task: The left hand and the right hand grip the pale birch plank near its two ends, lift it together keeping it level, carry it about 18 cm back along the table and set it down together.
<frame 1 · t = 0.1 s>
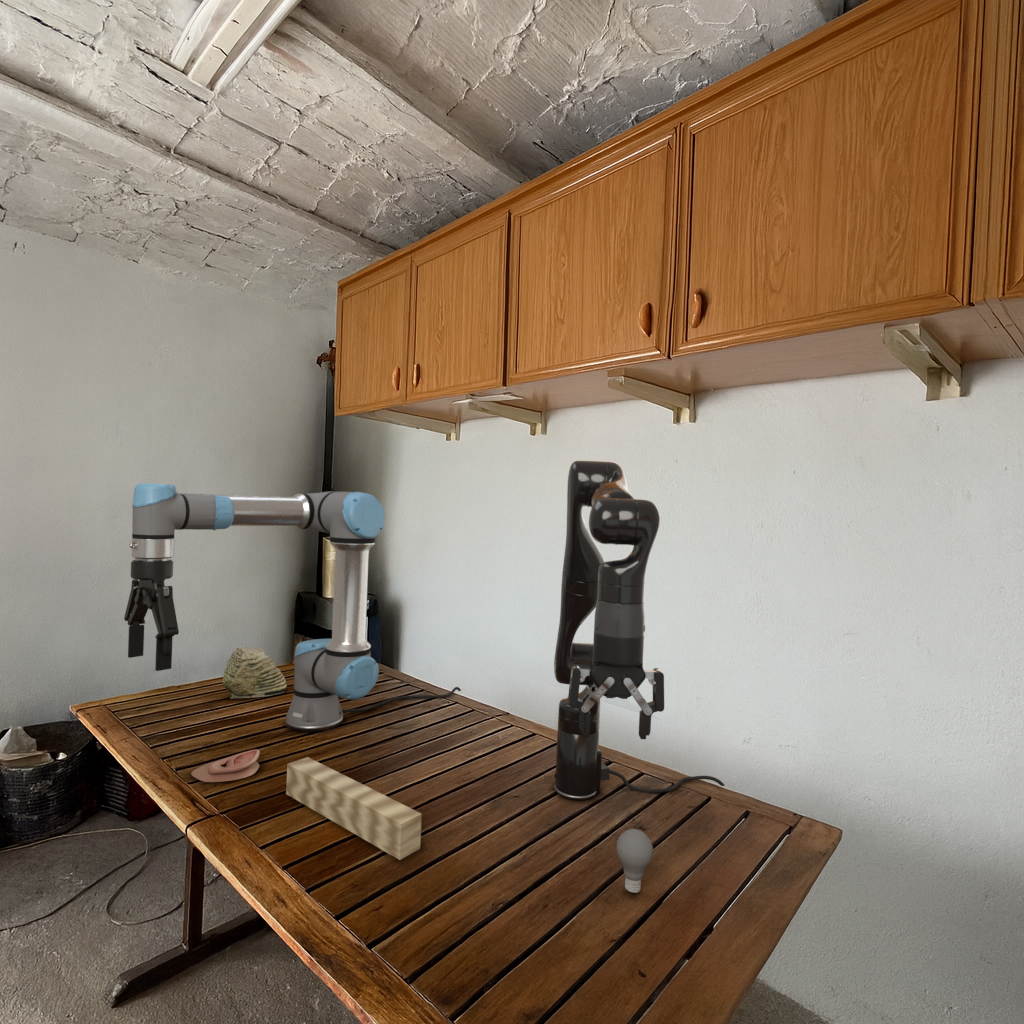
left hand: (149, 662, 129), 28 cm above the table, fingers open, 13 cm apart
right hand: (614, 736, 96), 29 cm above the table, fingers open, 8 cm apart
anatomical model: (225, 772, 143), on the table
light bulb: (632, 891, 106), on the table
fossil: (254, 694, 198), on the table
birch plank: (348, 819, 125), on the table
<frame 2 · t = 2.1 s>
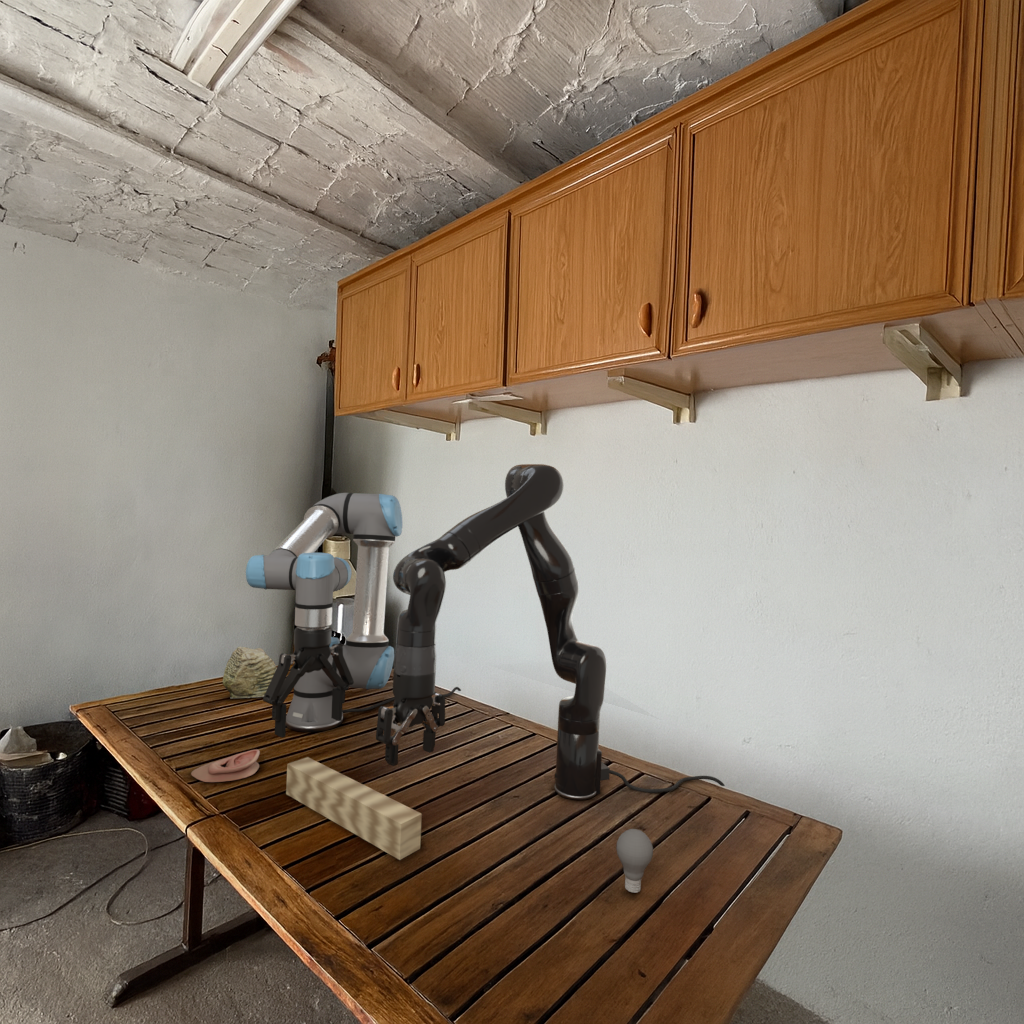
left hand: (309, 727, 133), 15 cm above the table, fingers open, 13 cm apart
right hand: (410, 757, 114), 17 cm above the table, fingers open, 8 cm apart
nothing on the table moved.
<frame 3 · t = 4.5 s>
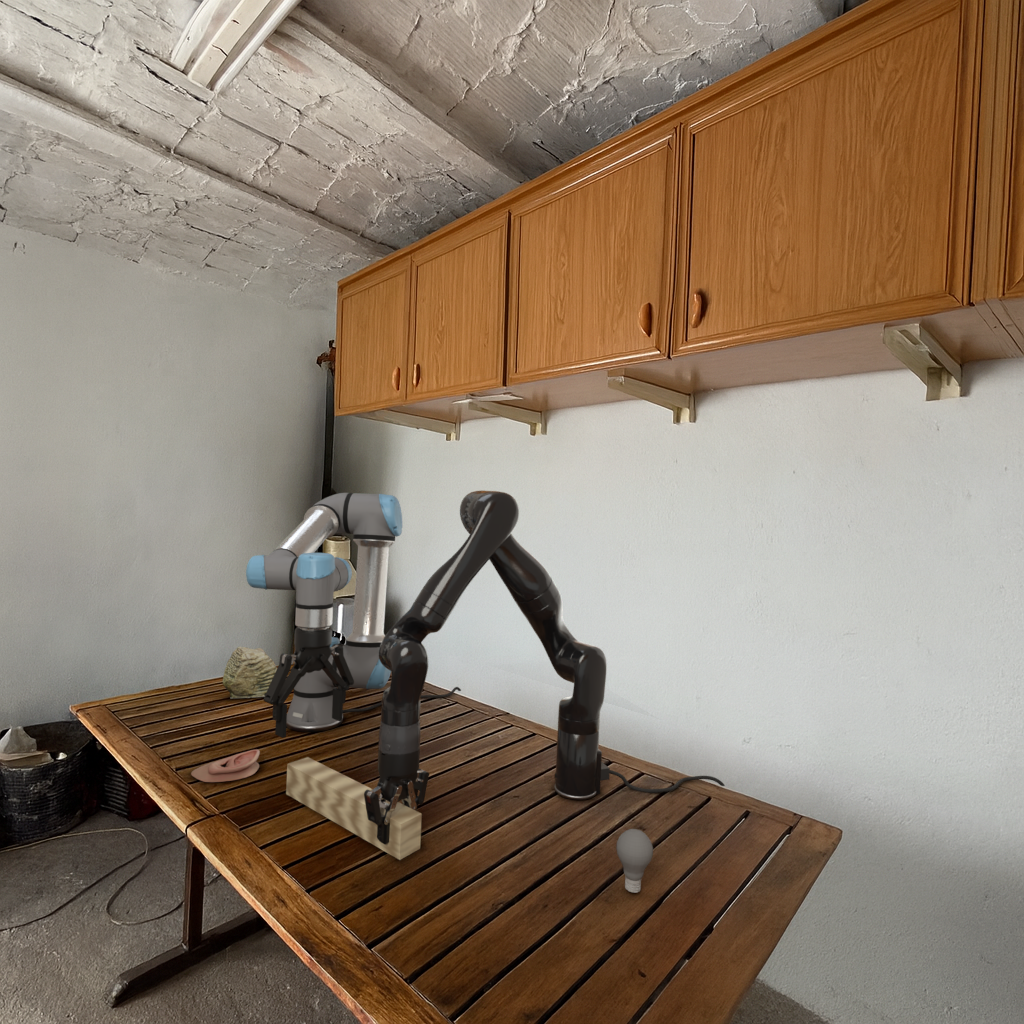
left hand: (309, 727, 133), 15 cm above the table, fingers open, 13 cm apart
right hand: (395, 835, 116), 2 cm above the table, fingers closed on birch plank, 5 cm apart
birch plank: (348, 819, 125), on the table, touching right hand
everything else where it was.
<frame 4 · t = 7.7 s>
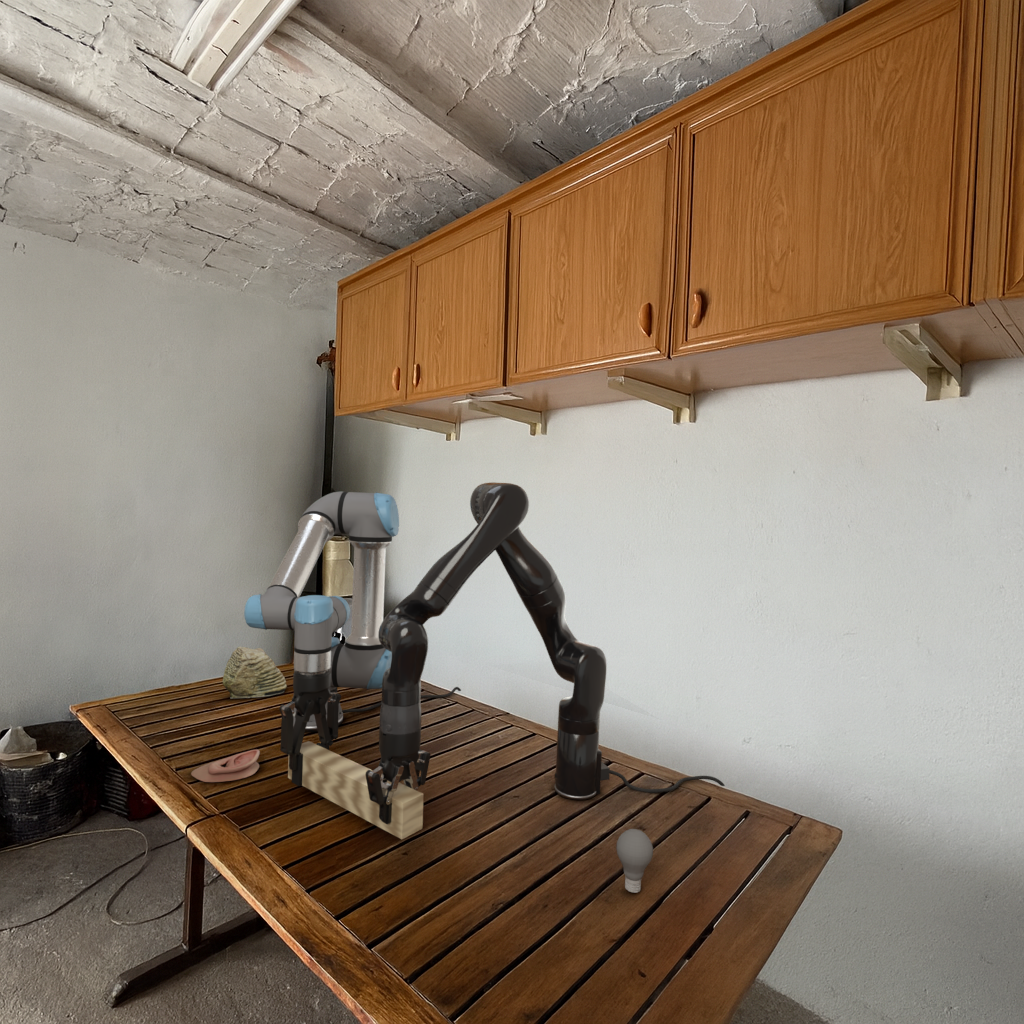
left hand: (308, 778, 134), 4 cm above the table, fingers closed on birch plank, 5 cm apart
right hand: (397, 815, 116), 5 cm above the table, fingers closed on birch plank, 5 cm apart
birch plank: (350, 801, 125), point 3 cm above the table, touching left hand, right hand
everything else where it was.
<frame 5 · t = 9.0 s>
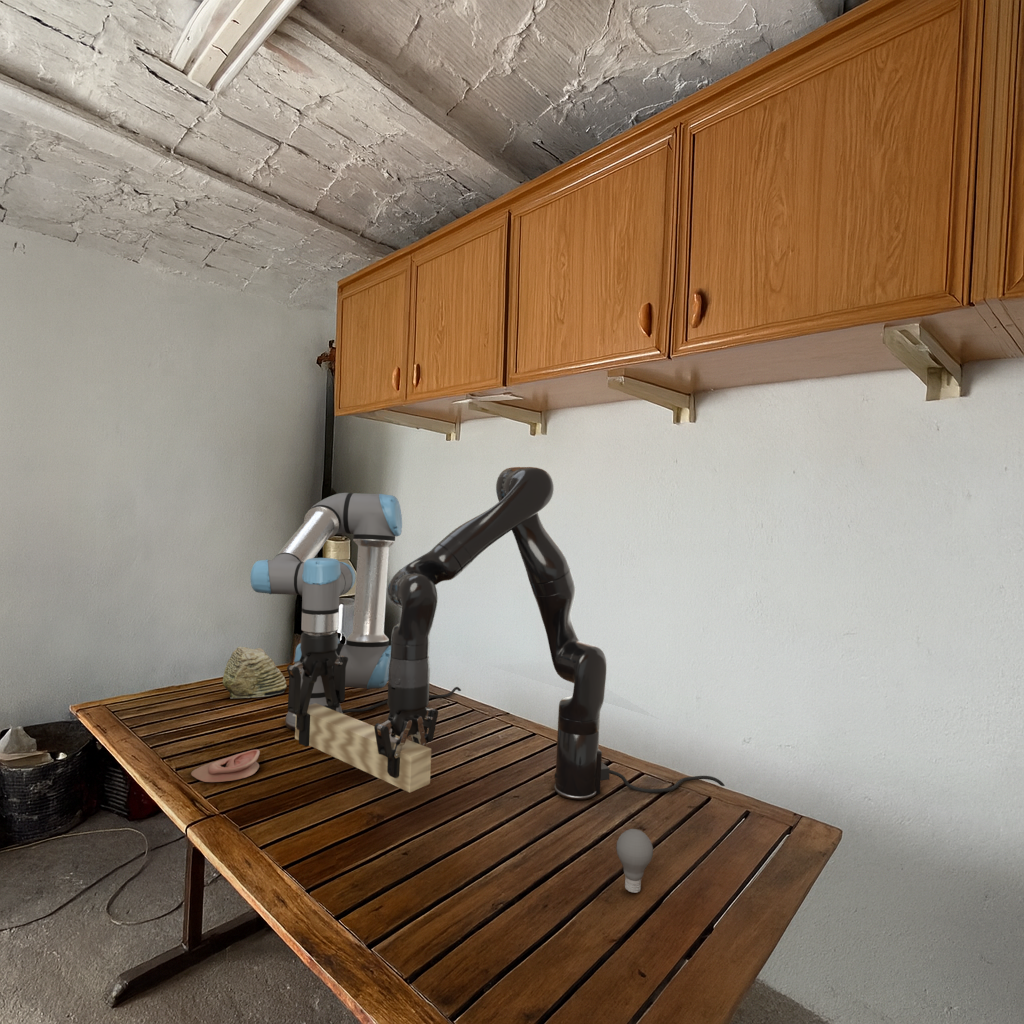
left hand: (315, 740, 134), 12 cm above the table, fingers closed on birch plank, 5 cm apart
right hand: (405, 771, 117), 14 cm above the table, fingers closed on birch plank, 5 cm apart
birch plank: (357, 759, 126), point 12 cm above the table, touching left hand, right hand
everything else where it was.
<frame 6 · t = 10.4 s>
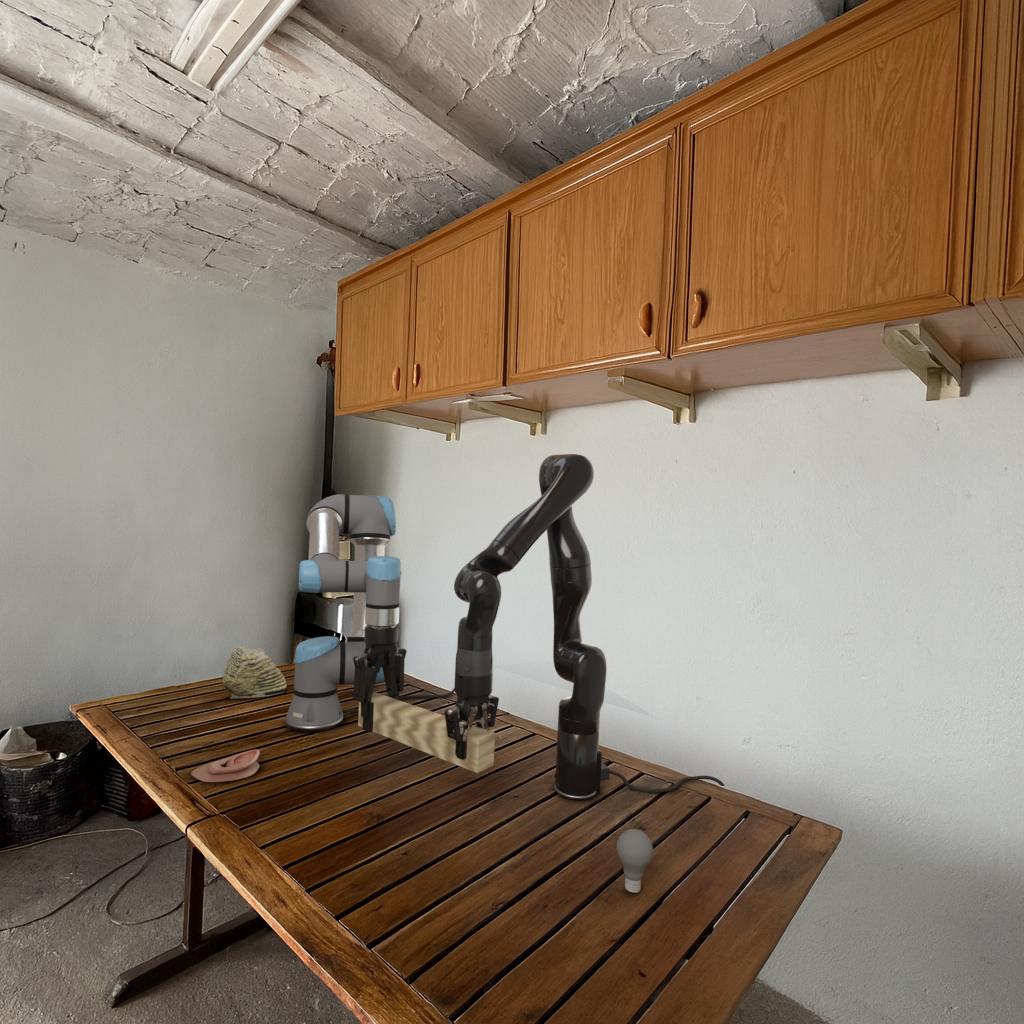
left hand: (377, 727, 144), 12 cm above the table, fingers closed on birch plank, 5 cm apart
right hand: (470, 753, 126), 14 cm above the table, fingers closed on birch plank, 5 cm apart
birch plank: (421, 744, 135), point 12 cm above the table, touching left hand, right hand
everything else where it was.
when the left hand's fingers open (0 cm above the table, at t = 13.4 s): birch plank stays where it is, on the table.
when the right hand's fingers open (2 cm above the table, at t = 13.5 s): birch plank stays where it is, on the table.
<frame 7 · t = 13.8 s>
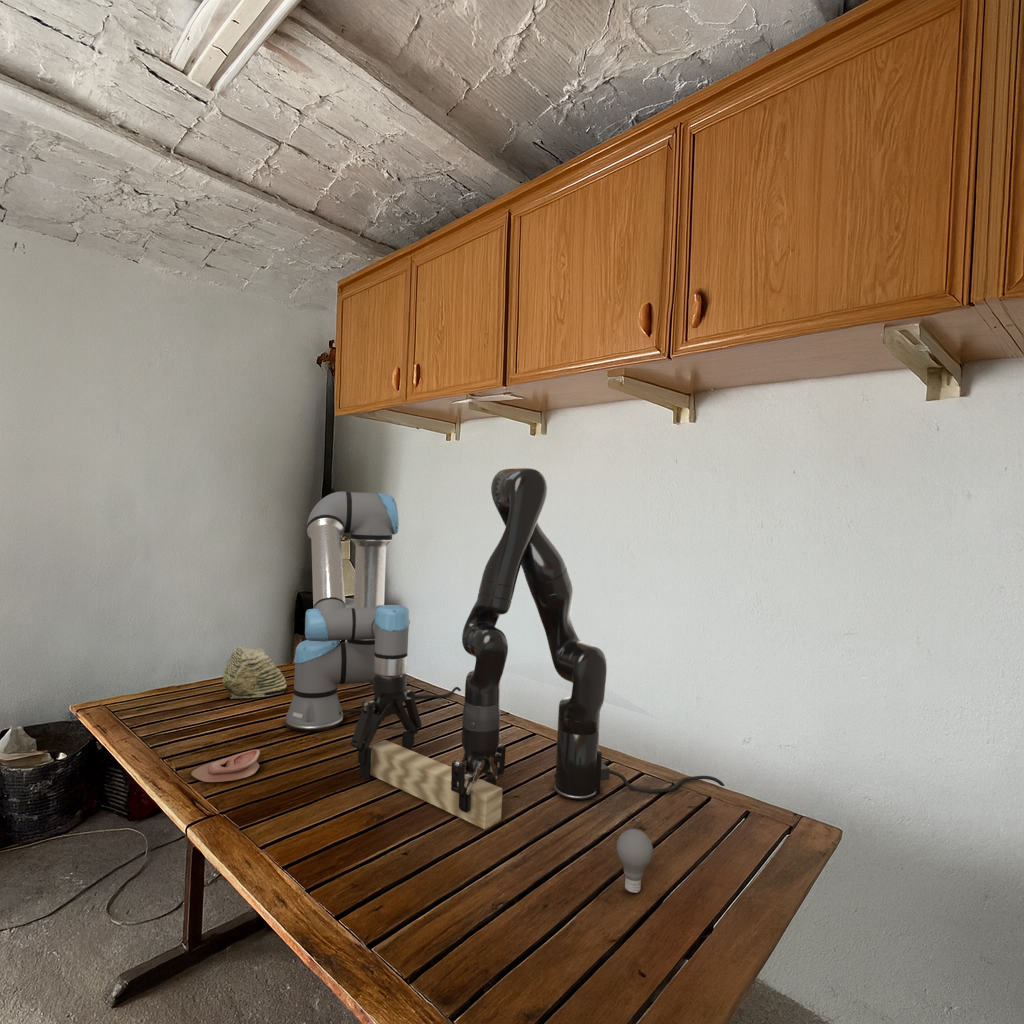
left hand: (386, 768, 145), 2 cm above the table, fingers open, 11 cm apart
right hand: (477, 804, 128), 3 cm above the table, fingers open, 7 cm apart
birch plank: (429, 795, 137), on the table
everything else where it was.
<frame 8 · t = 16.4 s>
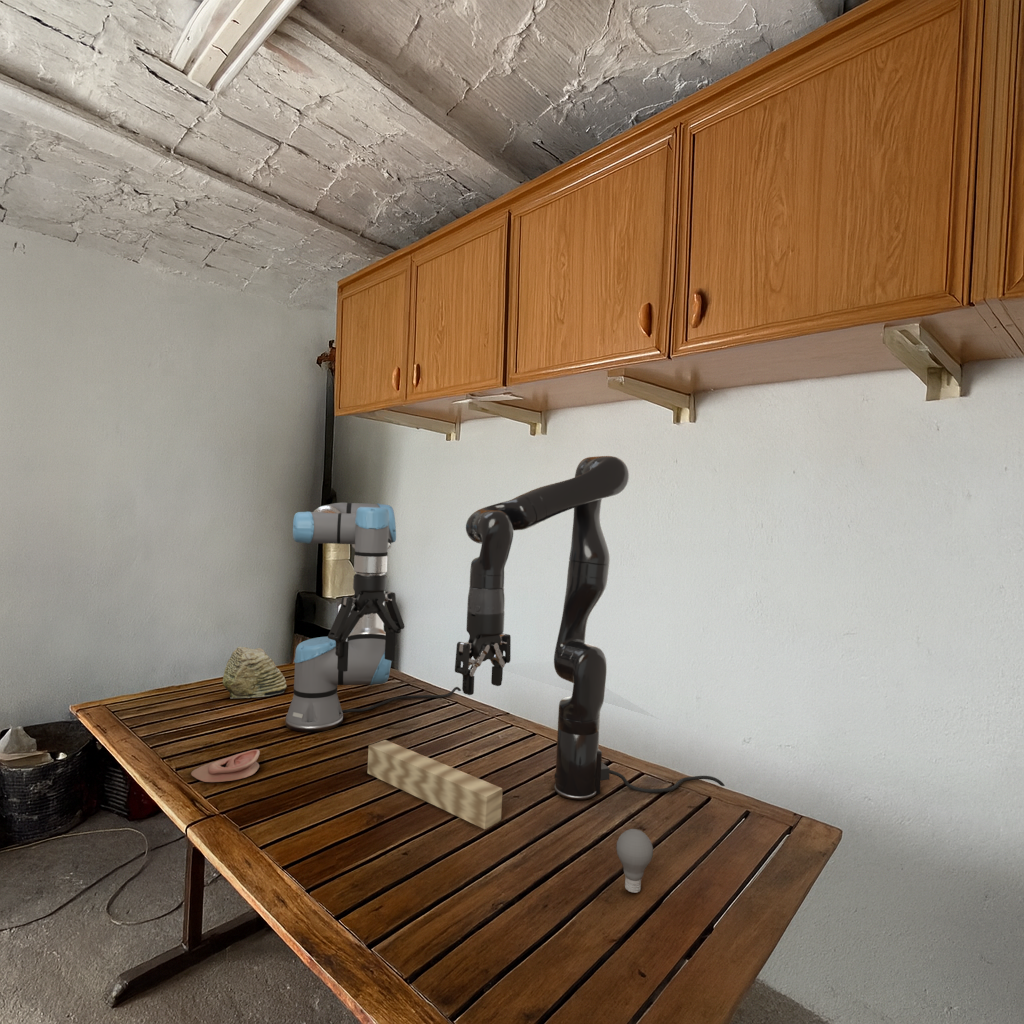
left hand: (366, 664, 147), 25 cm above the table, fingers open, 13 cm apart
right hand: (482, 689, 127), 26 cm above the table, fingers open, 8 cm apart
nothing on the table moved.
at the end: birch plank inside the target area (0.3 cm from its centre), on the table; both hands held the birch plank at the same time; birch plank never tilted more than 1° during the clip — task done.
